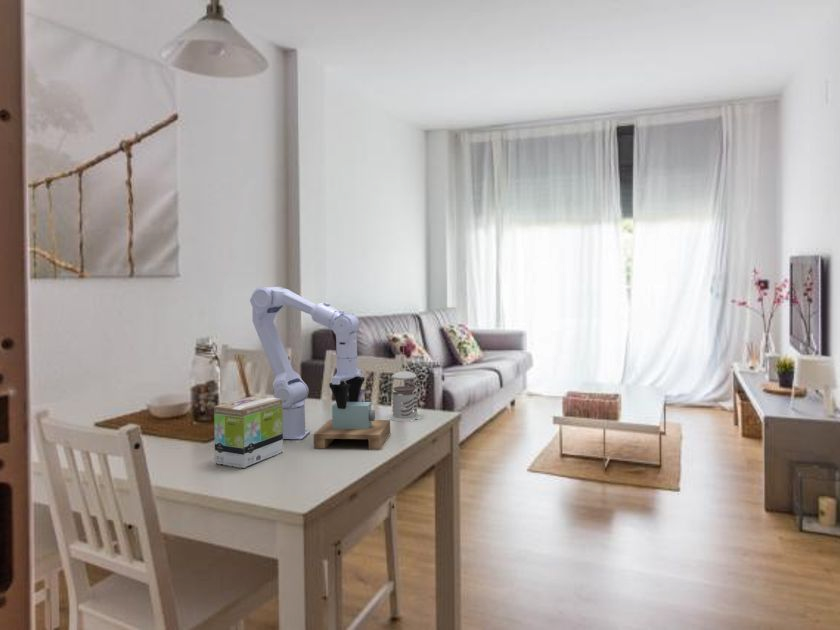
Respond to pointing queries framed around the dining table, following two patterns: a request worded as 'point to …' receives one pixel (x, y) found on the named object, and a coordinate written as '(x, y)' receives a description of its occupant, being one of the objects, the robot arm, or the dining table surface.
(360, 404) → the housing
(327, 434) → the stand
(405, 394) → the french press
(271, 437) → the tea box
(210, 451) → the dining table surface
